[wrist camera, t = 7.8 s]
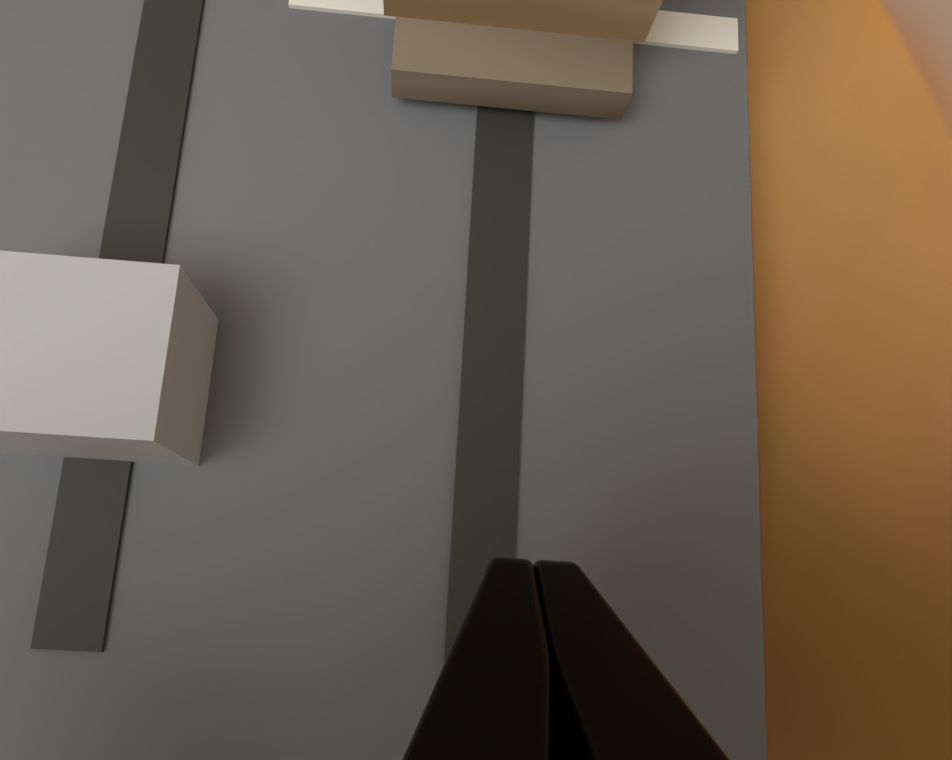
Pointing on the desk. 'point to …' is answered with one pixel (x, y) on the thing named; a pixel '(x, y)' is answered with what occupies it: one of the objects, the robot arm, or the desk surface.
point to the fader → (519, 53)
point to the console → (356, 375)
